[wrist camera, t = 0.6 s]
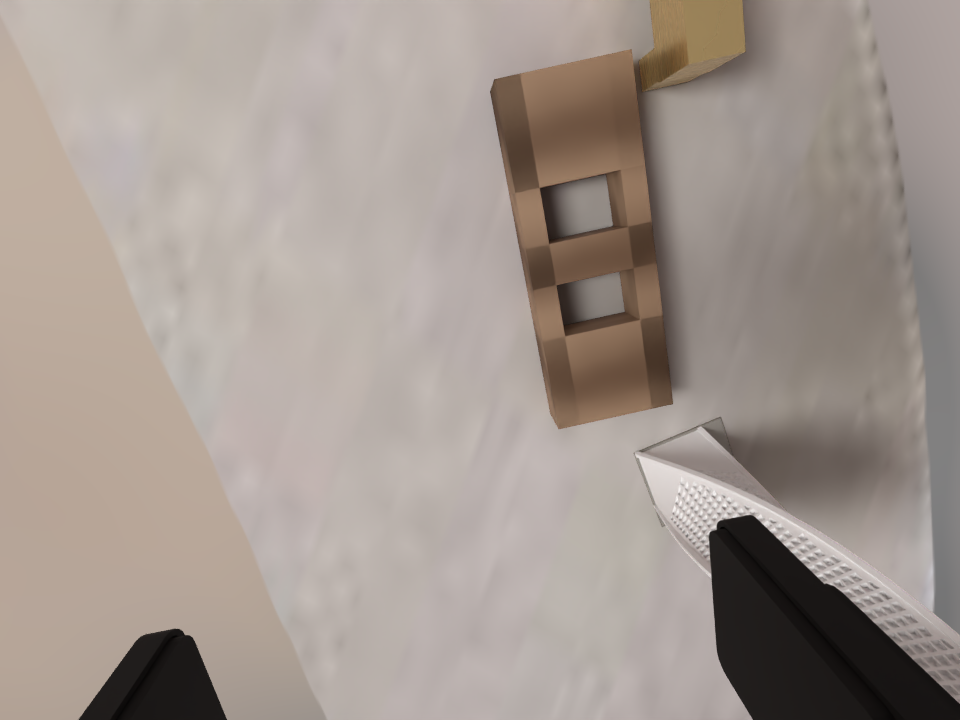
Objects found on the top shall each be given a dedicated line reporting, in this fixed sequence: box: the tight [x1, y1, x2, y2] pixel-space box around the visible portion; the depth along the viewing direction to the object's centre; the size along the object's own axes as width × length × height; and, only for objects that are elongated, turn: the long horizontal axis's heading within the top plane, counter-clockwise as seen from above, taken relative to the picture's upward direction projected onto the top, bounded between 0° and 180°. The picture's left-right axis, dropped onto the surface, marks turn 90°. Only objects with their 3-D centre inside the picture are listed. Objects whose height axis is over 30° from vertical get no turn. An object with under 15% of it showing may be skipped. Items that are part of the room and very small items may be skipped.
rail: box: [490, 49, 673, 429], centre depth 34 cm, size 22×8×3 cm, turn 12°
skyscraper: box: [634, 417, 960, 703], centre depth 27 cm, size 8×8×28 cm
